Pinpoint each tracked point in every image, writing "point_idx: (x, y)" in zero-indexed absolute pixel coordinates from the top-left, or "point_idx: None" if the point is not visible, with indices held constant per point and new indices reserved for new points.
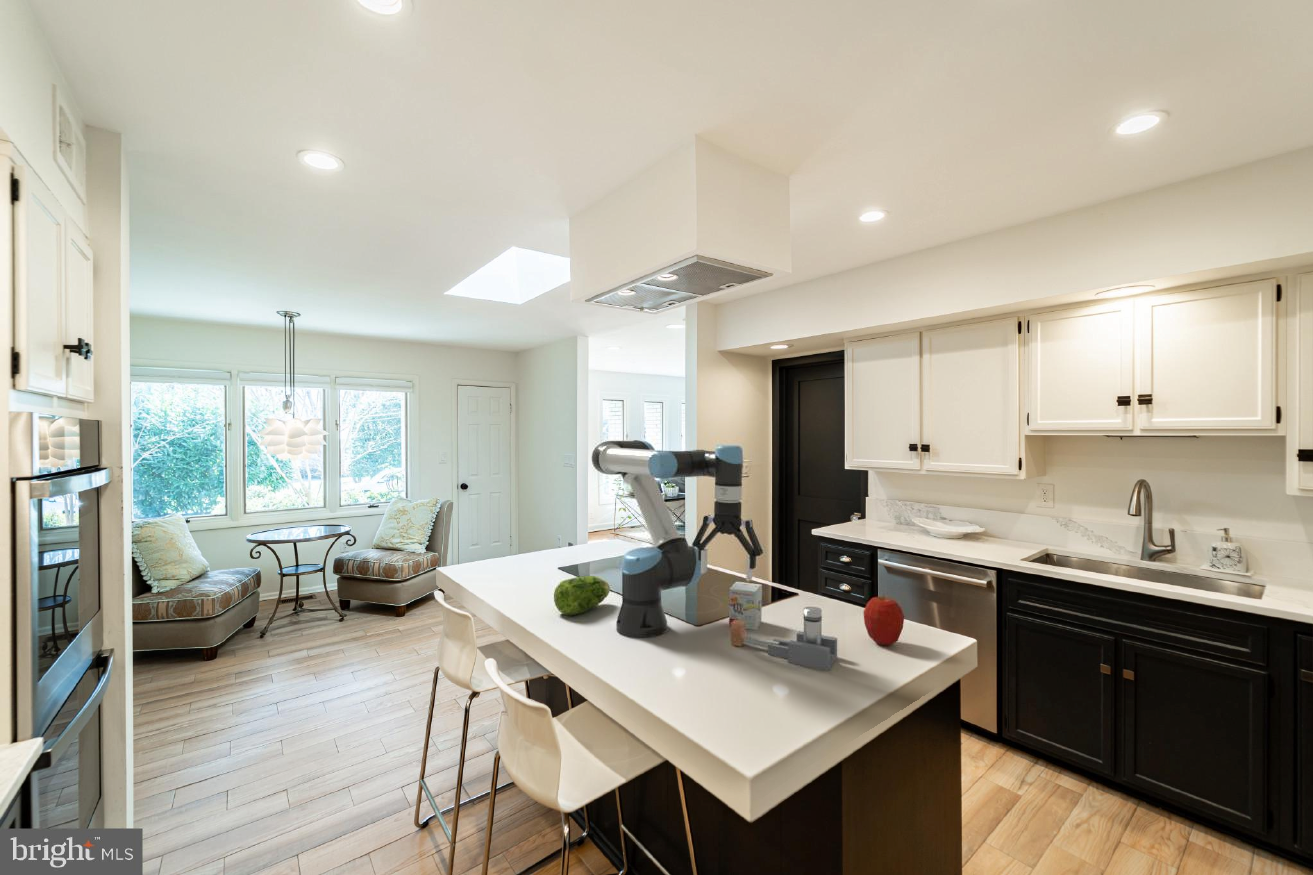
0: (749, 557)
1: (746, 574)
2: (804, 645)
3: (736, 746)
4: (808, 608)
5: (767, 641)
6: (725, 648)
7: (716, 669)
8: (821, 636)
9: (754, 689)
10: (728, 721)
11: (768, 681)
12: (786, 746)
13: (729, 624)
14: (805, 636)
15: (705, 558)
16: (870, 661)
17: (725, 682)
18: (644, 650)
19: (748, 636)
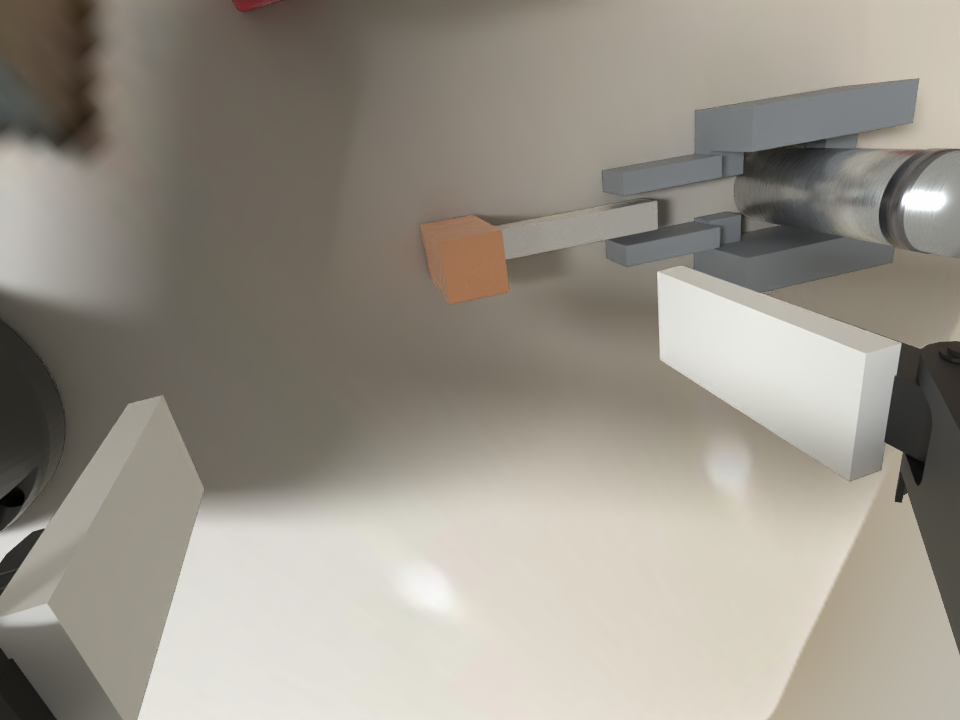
0: (880, 465)
1: (697, 382)
2: (807, 274)
3: (722, 698)
4: (956, 207)
5: (609, 232)
6: (431, 323)
7: (514, 495)
8: (856, 111)
9: (669, 513)
10: (676, 658)
11: (685, 447)
12: (799, 637)
13: (241, 10)
14: (821, 230)
15: (140, 554)
16: (952, 42)
17: (583, 538)
18: (183, 568)
19: (509, 234)
